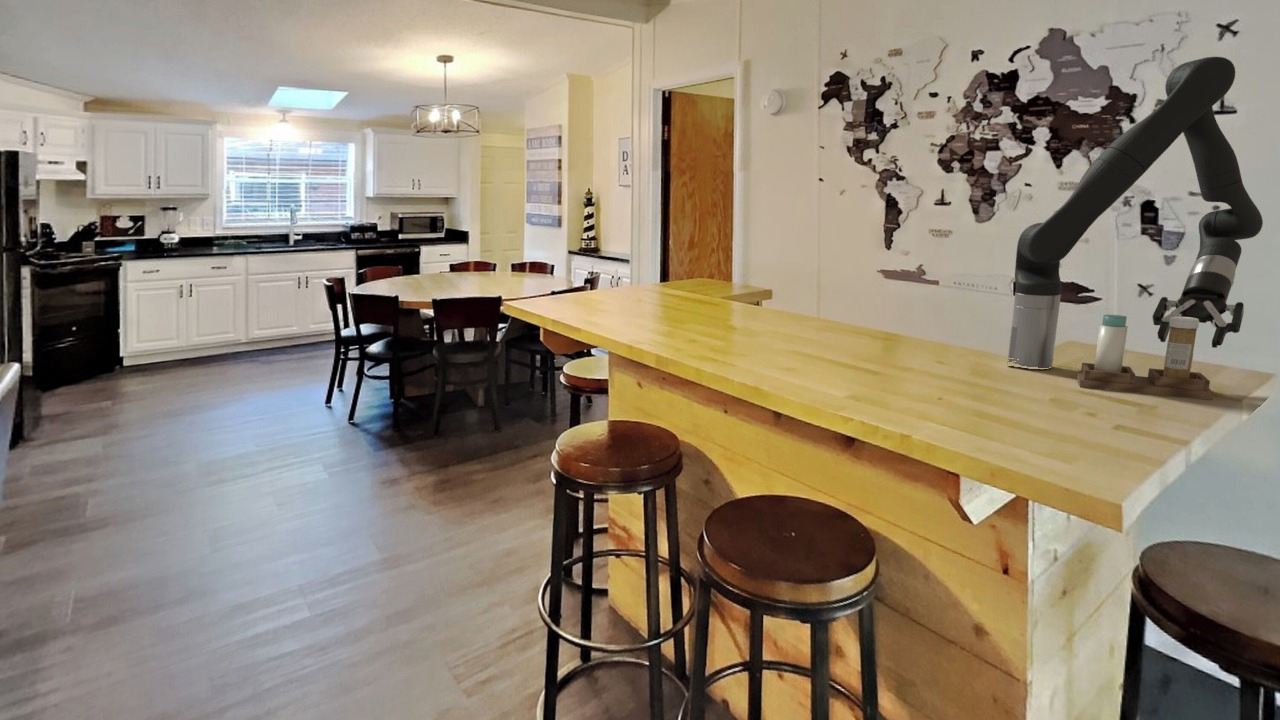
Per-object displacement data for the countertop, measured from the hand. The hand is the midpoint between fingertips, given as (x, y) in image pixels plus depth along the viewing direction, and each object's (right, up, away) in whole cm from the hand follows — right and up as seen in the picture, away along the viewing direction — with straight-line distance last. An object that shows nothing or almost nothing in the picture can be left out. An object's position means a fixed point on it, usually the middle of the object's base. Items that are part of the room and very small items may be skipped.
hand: (1187, 342), depth 143 cm
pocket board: (-8, -9, +3) cm, 12 cm away
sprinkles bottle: (-2, -8, 0) cm, 9 cm away
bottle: (-13, -7, +5) cm, 16 cm away
